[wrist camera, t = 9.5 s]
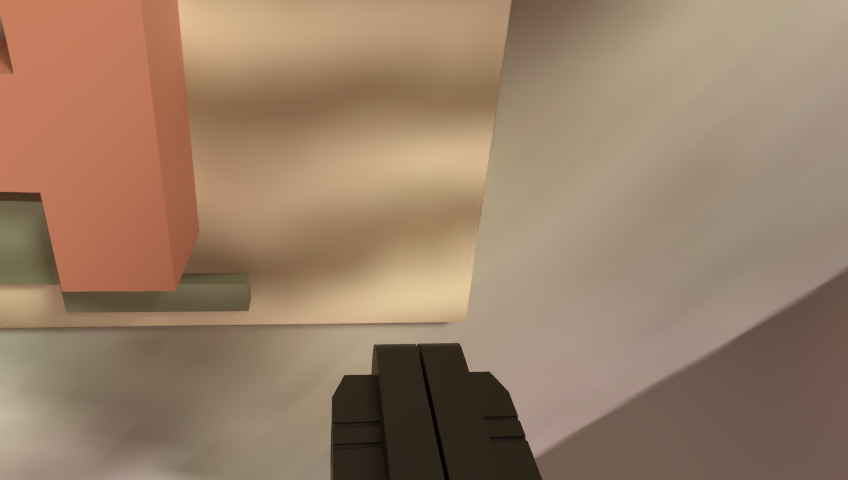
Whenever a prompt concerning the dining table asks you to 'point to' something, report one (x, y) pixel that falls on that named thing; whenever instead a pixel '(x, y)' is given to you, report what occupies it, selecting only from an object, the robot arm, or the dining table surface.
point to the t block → (101, 137)
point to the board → (308, 170)
